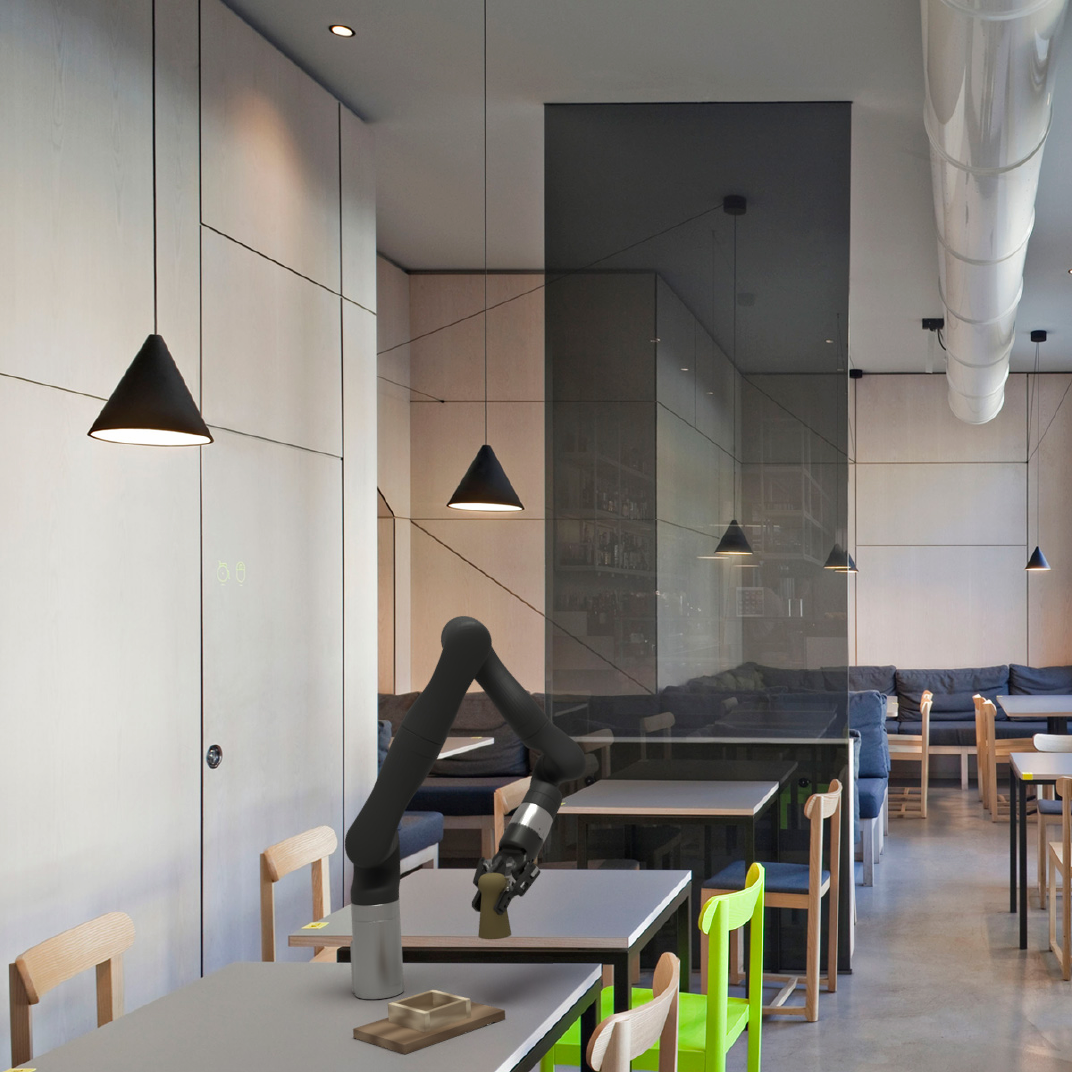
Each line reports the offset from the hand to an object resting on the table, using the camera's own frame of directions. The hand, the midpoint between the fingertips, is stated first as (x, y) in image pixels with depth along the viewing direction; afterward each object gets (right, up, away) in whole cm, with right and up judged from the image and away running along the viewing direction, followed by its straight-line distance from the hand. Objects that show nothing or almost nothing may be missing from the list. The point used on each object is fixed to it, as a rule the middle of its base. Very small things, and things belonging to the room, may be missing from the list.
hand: (486, 910), depth 222 cm
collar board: (-9, -16, -13) cm, 22 cm away
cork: (+2, -5, +1) cm, 5 cm away
